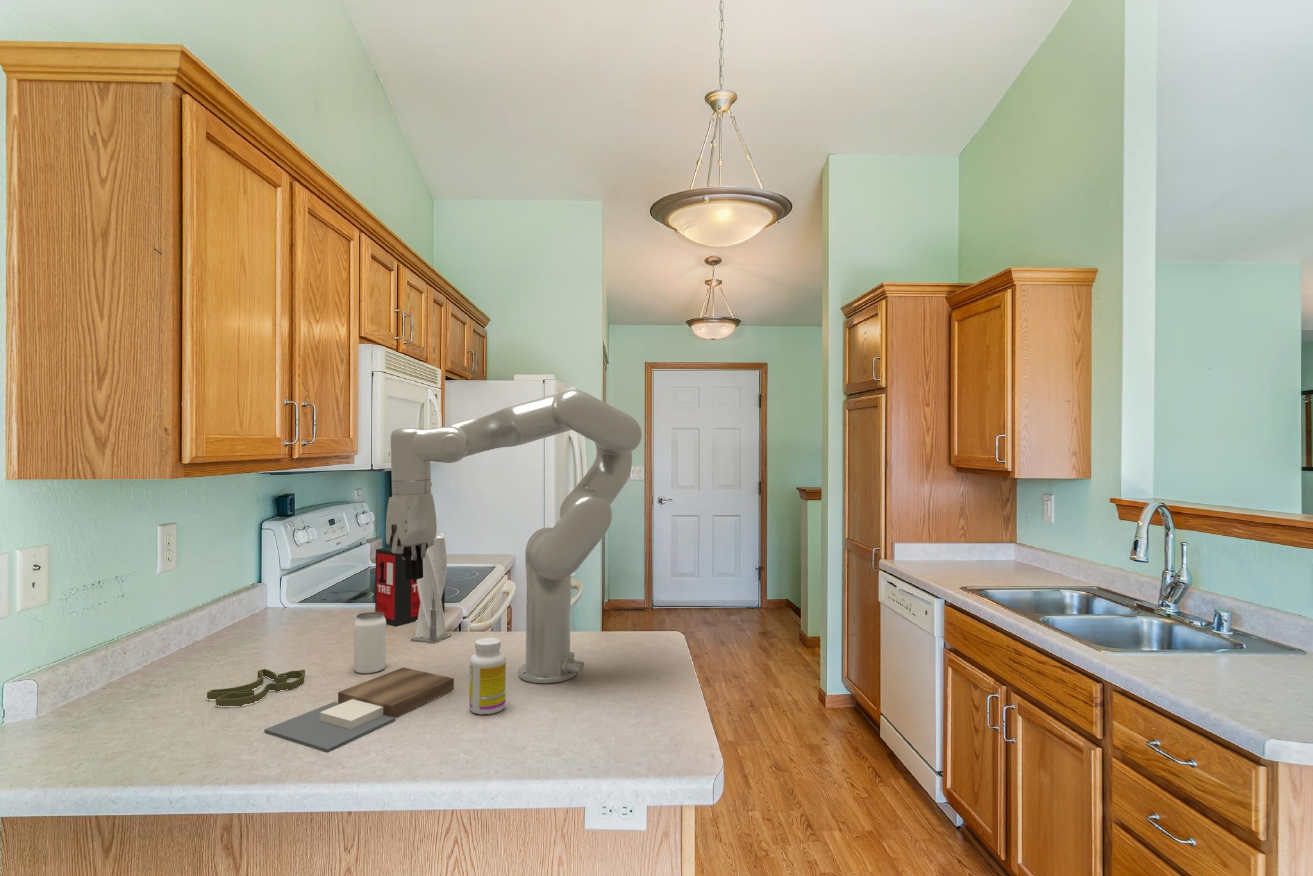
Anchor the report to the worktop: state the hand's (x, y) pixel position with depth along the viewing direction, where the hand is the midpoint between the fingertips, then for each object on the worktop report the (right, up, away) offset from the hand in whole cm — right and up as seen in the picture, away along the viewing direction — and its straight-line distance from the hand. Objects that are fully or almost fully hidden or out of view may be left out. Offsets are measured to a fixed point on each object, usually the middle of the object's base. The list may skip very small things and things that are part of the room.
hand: (414, 578), depth 140 cm
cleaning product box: (-20, -22, +54) cm, 61 cm away
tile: (-6, -22, -16) cm, 28 cm away
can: (-14, -22, +11) cm, 28 cm away
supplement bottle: (+17, -23, -10) cm, 30 cm away
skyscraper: (-8, -22, +35) cm, 42 cm away
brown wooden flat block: (-1, -22, -5) cm, 23 cm away
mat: (-8, -22, -19) cm, 30 cm away
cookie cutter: (-30, -23, -3) cm, 38 cm away
